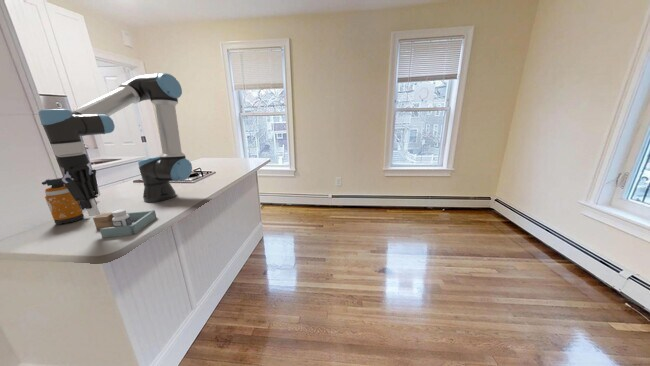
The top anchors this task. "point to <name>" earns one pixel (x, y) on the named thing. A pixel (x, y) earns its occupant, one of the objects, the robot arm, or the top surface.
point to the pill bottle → (121, 218)
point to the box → (142, 218)
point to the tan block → (103, 220)
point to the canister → (62, 202)
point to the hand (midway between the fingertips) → (94, 214)
